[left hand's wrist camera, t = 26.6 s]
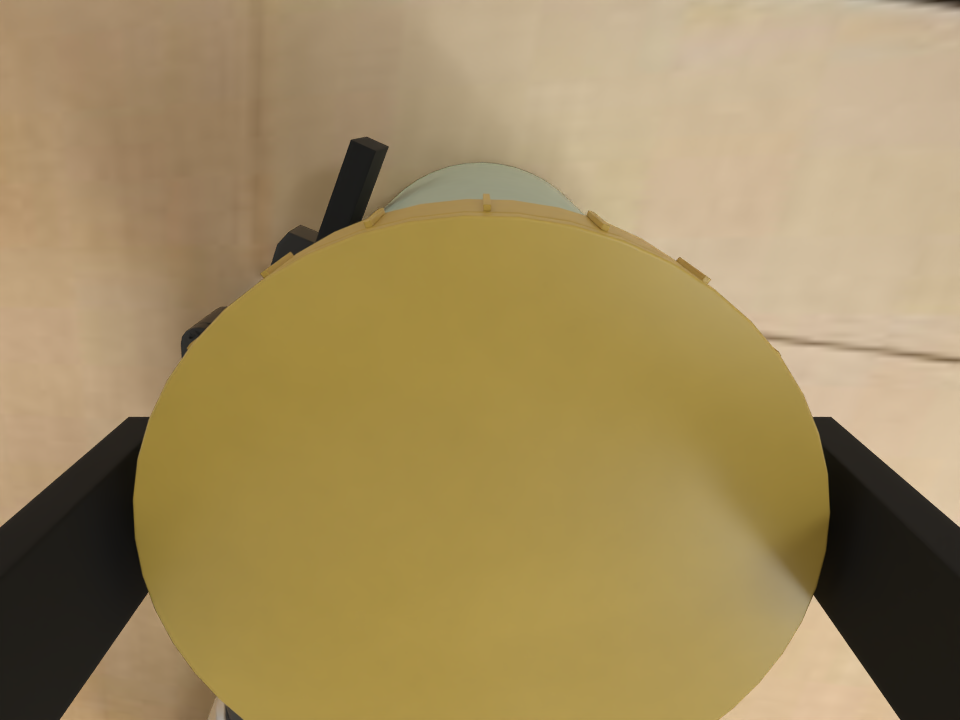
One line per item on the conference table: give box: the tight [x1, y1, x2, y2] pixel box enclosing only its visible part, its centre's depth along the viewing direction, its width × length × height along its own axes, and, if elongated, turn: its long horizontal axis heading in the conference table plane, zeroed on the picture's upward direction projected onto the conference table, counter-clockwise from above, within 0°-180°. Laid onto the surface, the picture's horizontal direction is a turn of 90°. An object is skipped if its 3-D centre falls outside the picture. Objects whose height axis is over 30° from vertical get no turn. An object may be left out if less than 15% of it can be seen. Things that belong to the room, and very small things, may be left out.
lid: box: [133, 194, 830, 720], centre depth 11 cm, size 11×11×2 cm
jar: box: [384, 163, 584, 215], centre depth 19 cm, size 10×10×17 cm
